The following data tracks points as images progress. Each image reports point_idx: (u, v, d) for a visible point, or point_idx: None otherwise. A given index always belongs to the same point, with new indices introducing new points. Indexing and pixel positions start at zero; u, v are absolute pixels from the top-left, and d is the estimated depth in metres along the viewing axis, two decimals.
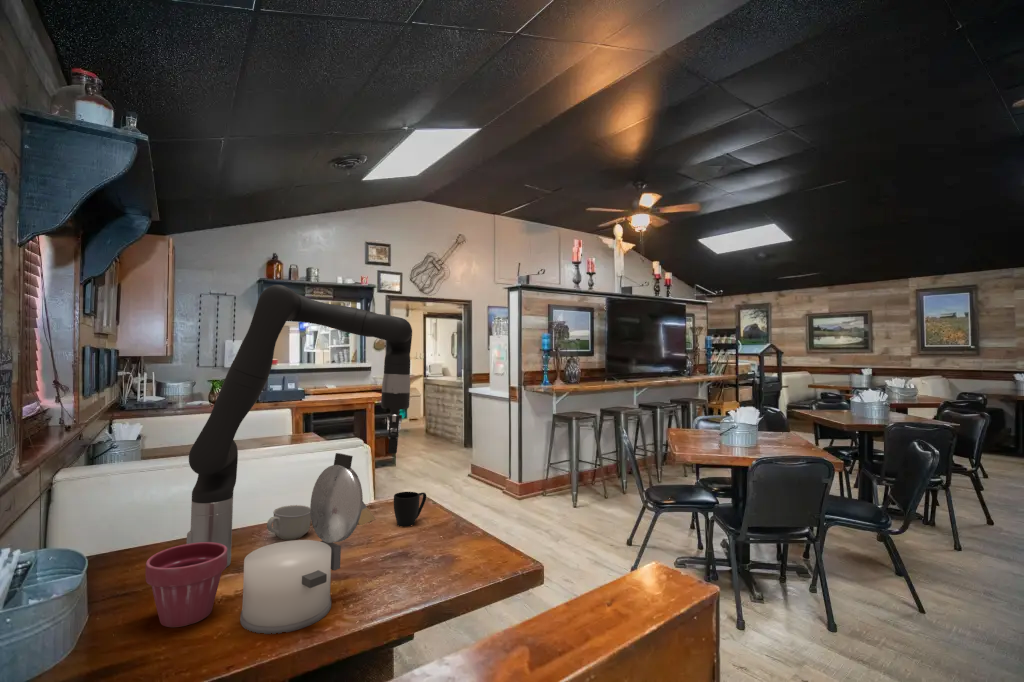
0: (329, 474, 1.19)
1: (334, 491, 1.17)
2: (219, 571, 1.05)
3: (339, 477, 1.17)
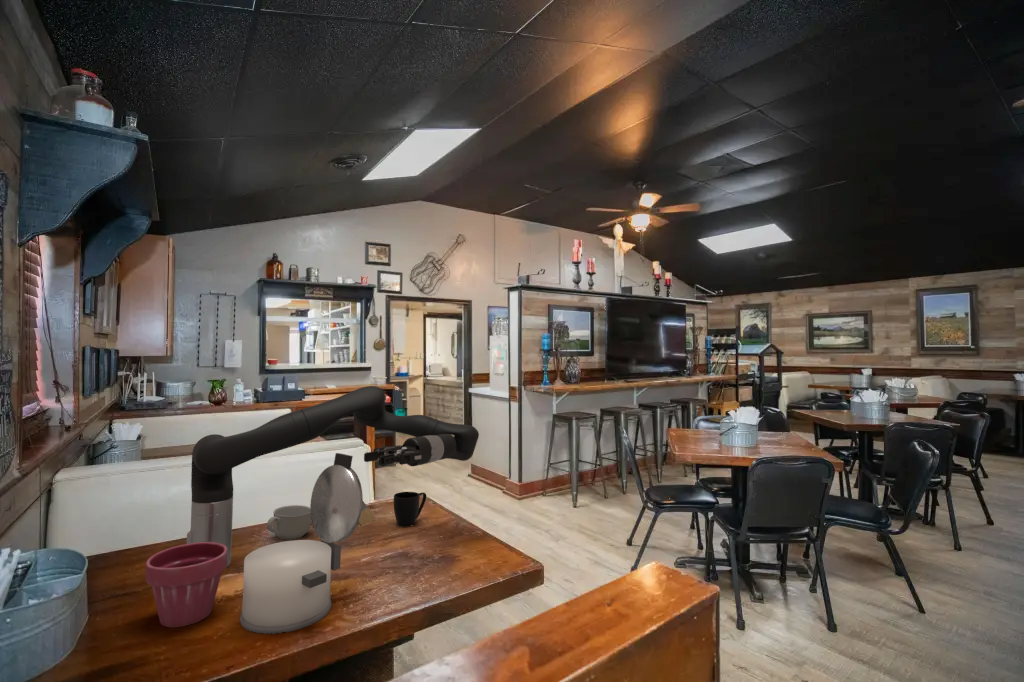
0: (329, 474, 1.19)
1: (334, 491, 1.17)
2: (219, 571, 1.05)
3: (339, 477, 1.17)
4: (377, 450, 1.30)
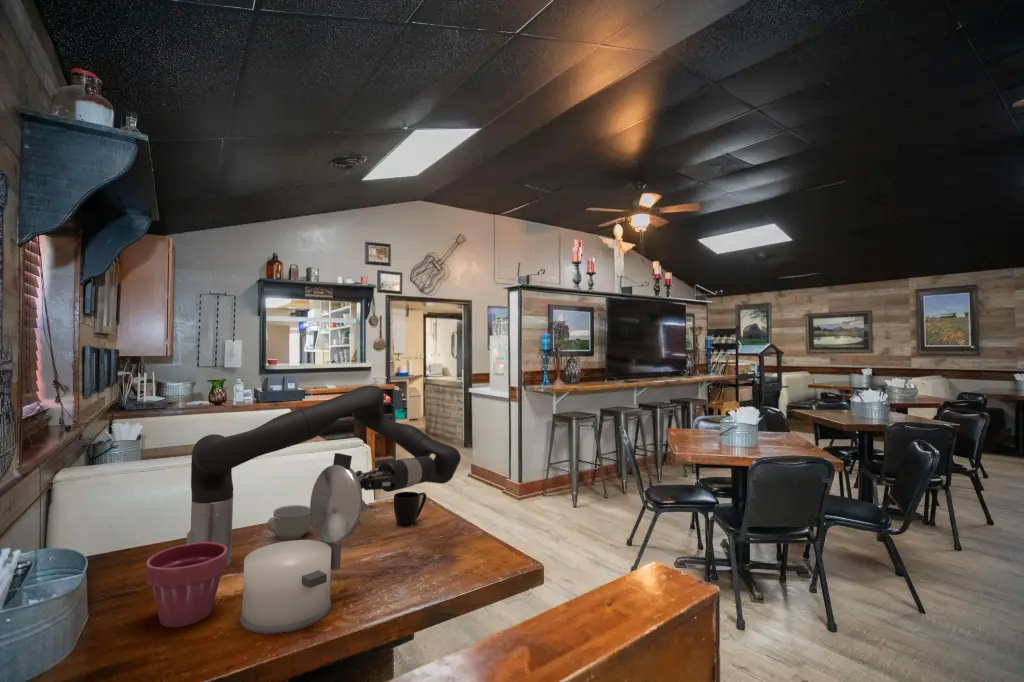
0: (328, 474, 1.19)
1: (333, 491, 1.17)
2: (219, 571, 1.05)
3: (338, 477, 1.16)
4: None
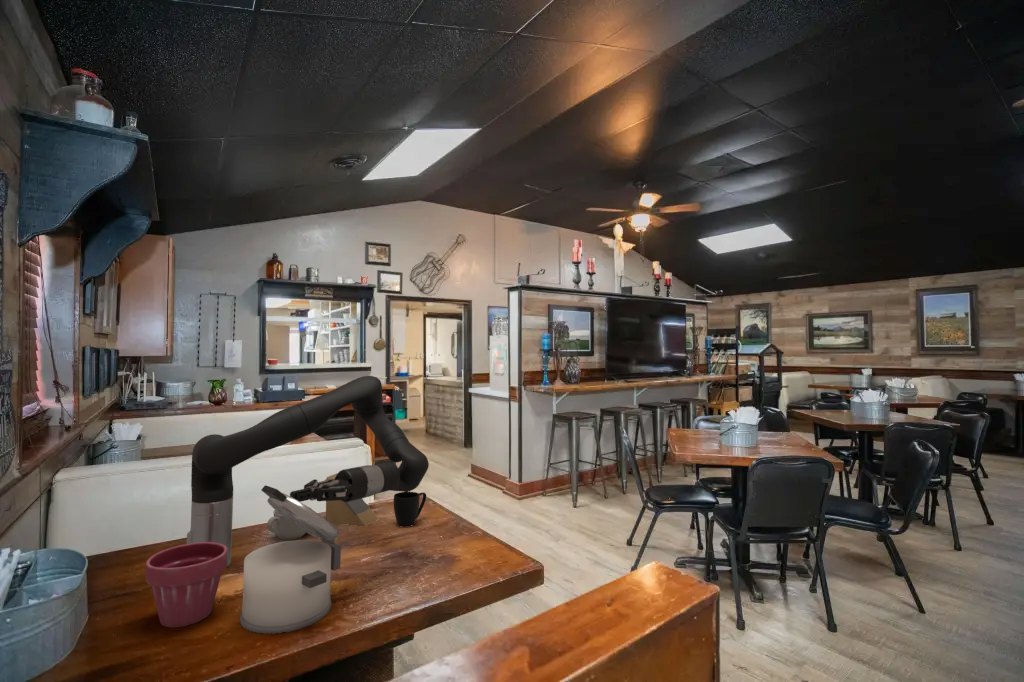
0: (275, 504, 1.09)
1: (293, 515, 1.09)
2: (219, 571, 1.05)
3: (285, 508, 1.06)
4: (308, 487, 1.12)
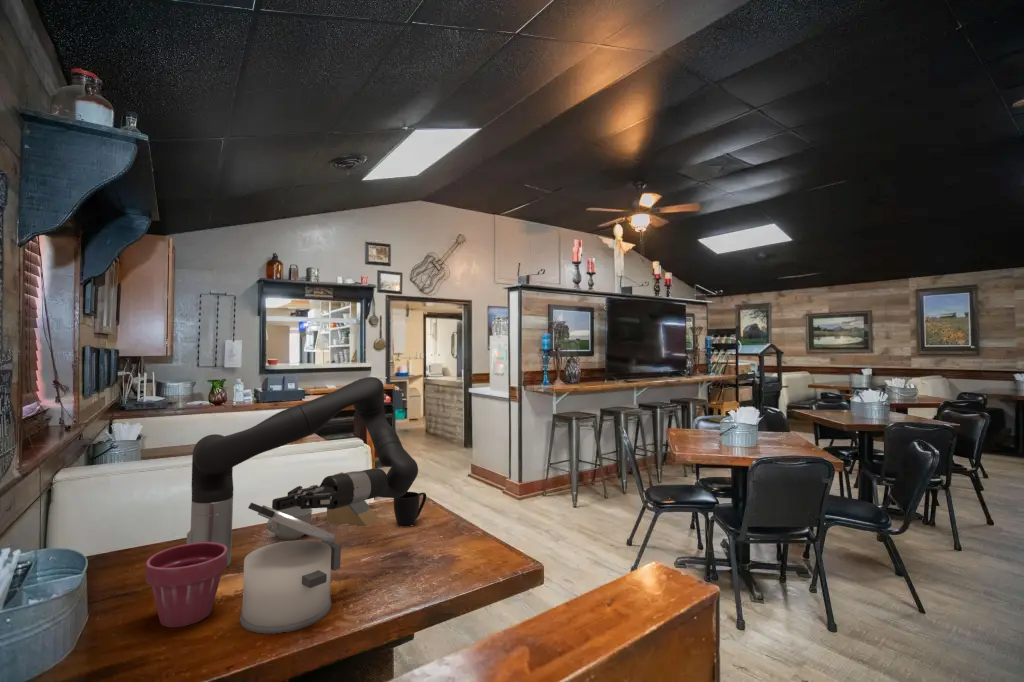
0: None
1: None
2: (219, 571, 1.05)
3: None
4: (291, 494, 1.09)
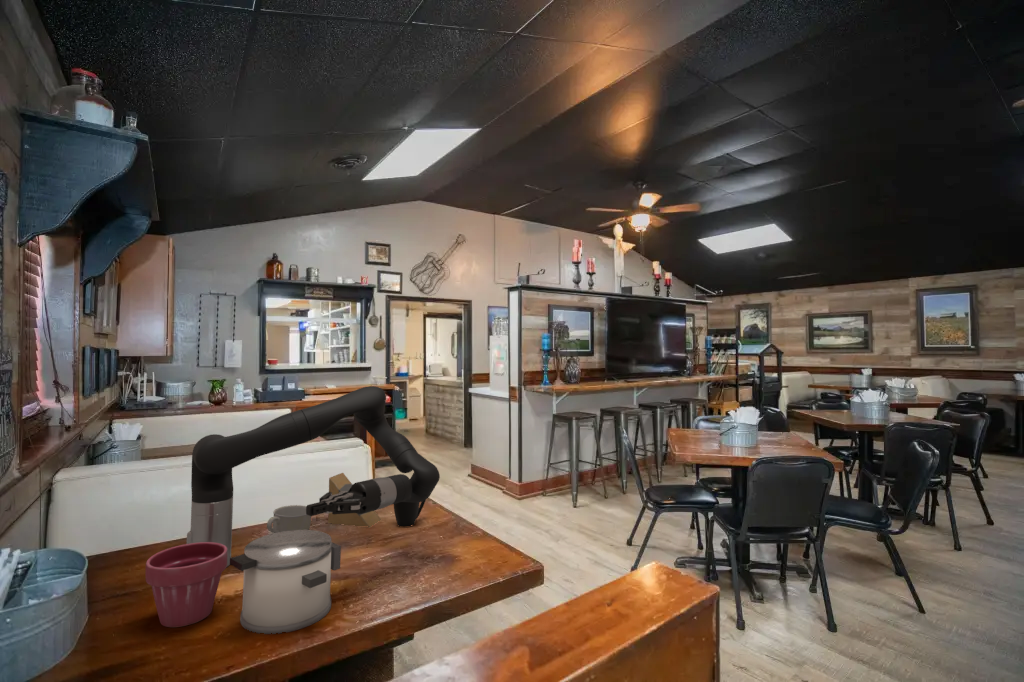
0: None
1: None
2: (219, 571, 1.05)
3: None
4: (323, 500, 1.15)
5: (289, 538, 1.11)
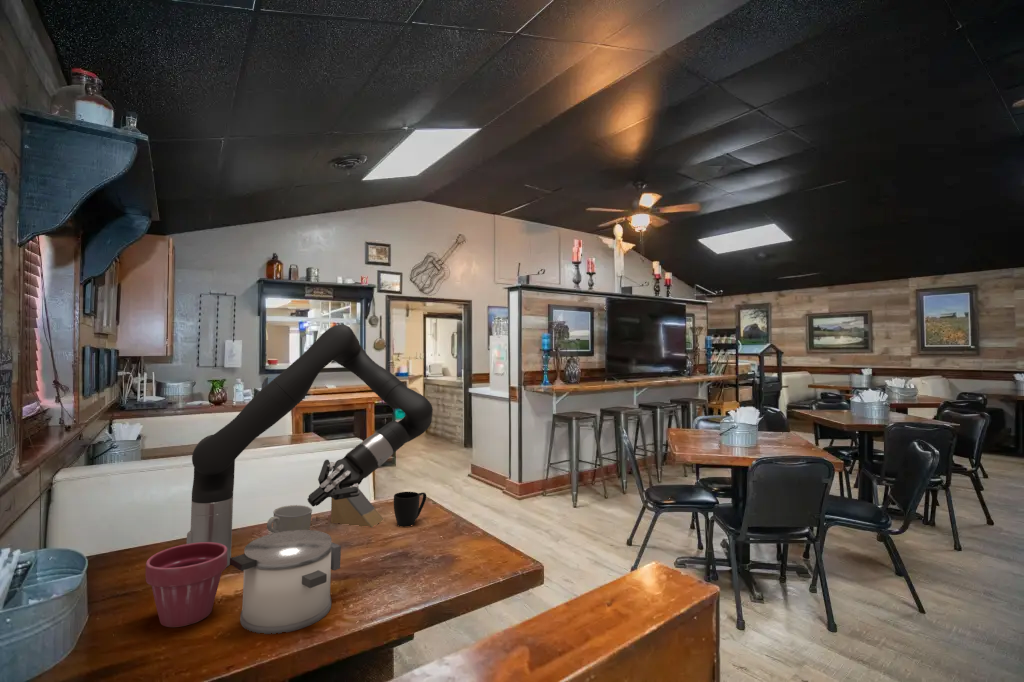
0: None
1: None
2: (219, 571, 1.05)
3: None
4: (322, 486, 1.19)
5: (289, 538, 1.11)
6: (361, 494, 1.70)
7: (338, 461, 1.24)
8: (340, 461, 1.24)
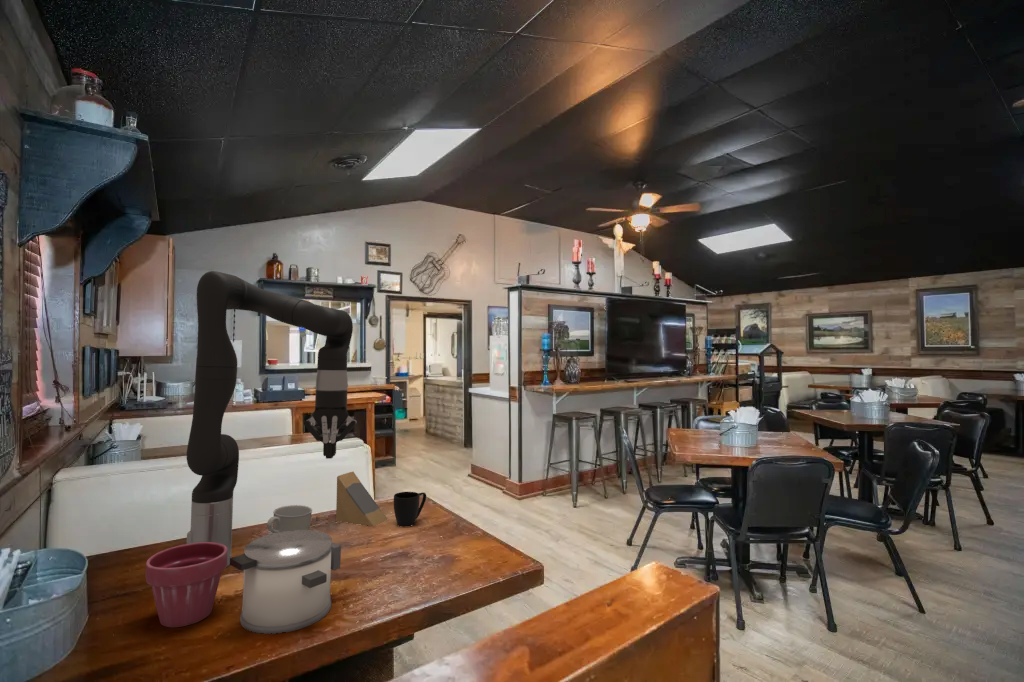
0: None
1: None
2: (219, 571, 1.05)
3: None
4: (326, 442, 1.25)
5: (289, 538, 1.11)
6: (366, 493, 1.71)
7: (315, 415, 1.25)
8: (316, 414, 1.25)
